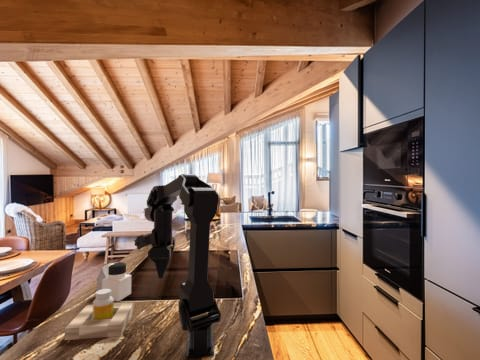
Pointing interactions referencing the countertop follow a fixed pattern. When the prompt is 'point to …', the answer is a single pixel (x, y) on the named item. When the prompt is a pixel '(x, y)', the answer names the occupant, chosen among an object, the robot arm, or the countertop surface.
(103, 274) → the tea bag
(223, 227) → the countertop surface
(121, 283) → the medicine bottle
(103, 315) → the supplement bottle
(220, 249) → the countertop surface
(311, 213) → the countertop surface
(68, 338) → the socket block
